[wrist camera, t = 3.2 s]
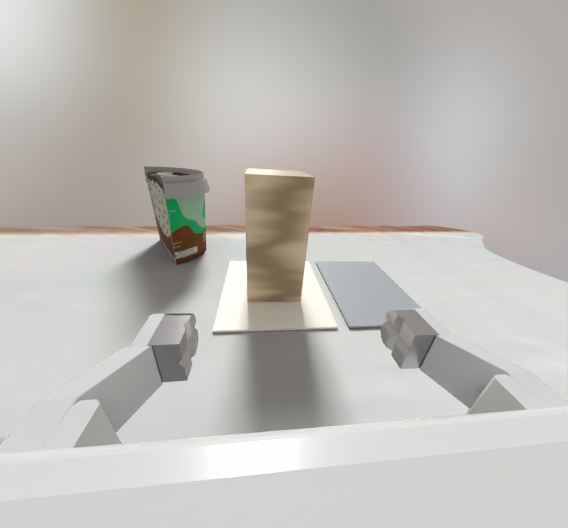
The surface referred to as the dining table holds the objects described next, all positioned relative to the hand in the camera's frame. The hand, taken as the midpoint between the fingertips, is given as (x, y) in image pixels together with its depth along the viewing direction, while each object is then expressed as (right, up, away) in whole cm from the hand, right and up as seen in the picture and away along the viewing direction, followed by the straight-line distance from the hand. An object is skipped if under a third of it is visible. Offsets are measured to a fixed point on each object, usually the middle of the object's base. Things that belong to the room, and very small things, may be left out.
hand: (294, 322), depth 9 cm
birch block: (-2, 0, +14) cm, 14 cm away
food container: (-14, +5, +22) cm, 26 cm away
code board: (+3, 0, +14) cm, 15 cm away
